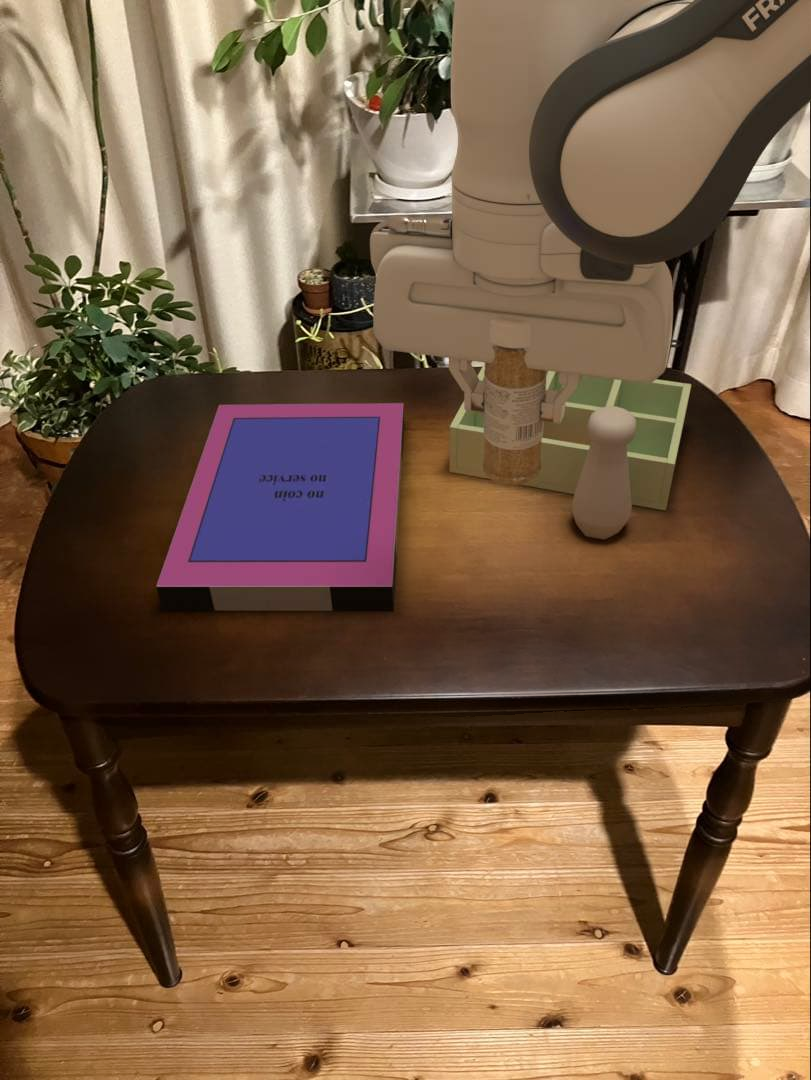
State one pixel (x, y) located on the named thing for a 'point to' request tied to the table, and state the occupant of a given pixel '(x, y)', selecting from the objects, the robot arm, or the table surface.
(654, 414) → the rack
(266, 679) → the table surface
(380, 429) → the book
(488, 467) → the sprinkles bottle
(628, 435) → the salt shaker
